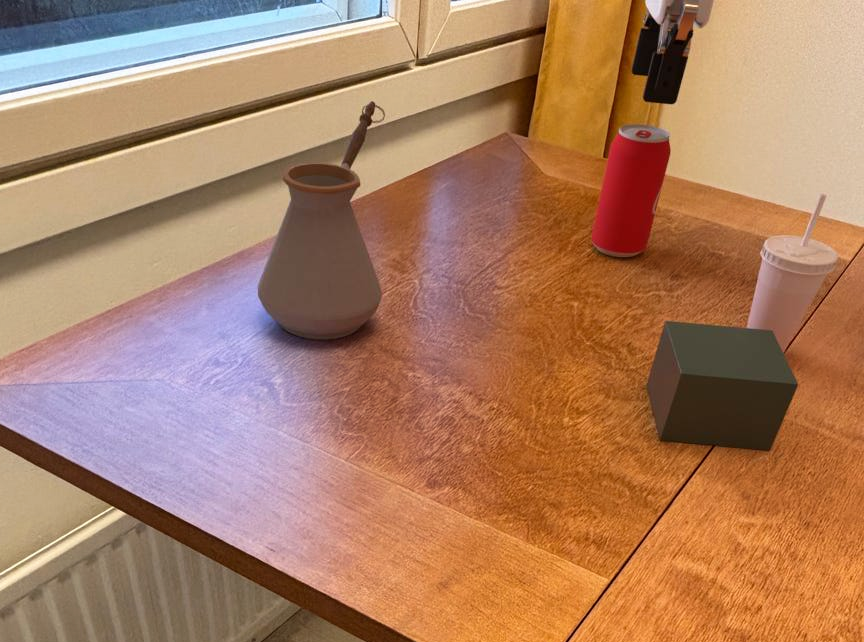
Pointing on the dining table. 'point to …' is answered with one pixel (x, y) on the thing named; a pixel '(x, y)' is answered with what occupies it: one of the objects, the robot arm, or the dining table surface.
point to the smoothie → (790, 280)
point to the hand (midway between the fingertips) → (652, 88)
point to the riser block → (719, 385)
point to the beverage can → (631, 190)
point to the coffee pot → (322, 251)
